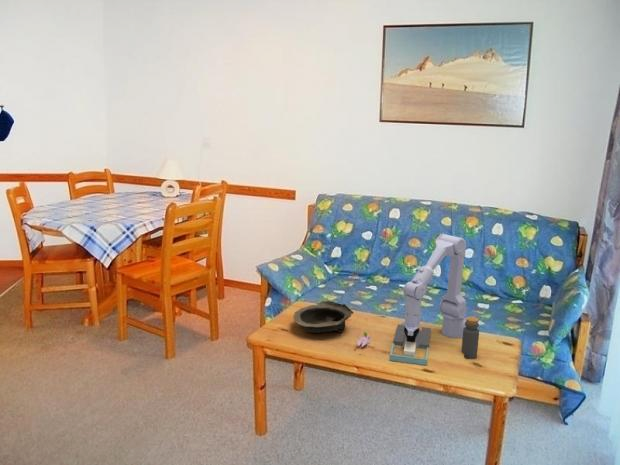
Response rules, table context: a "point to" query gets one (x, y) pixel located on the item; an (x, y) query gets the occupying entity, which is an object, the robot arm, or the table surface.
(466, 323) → the bottle
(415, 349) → the cream cube block
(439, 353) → the table surface
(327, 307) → the stone bowl
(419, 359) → the tray
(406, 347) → the beige cube
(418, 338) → the slotted plate
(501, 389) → the table surface
